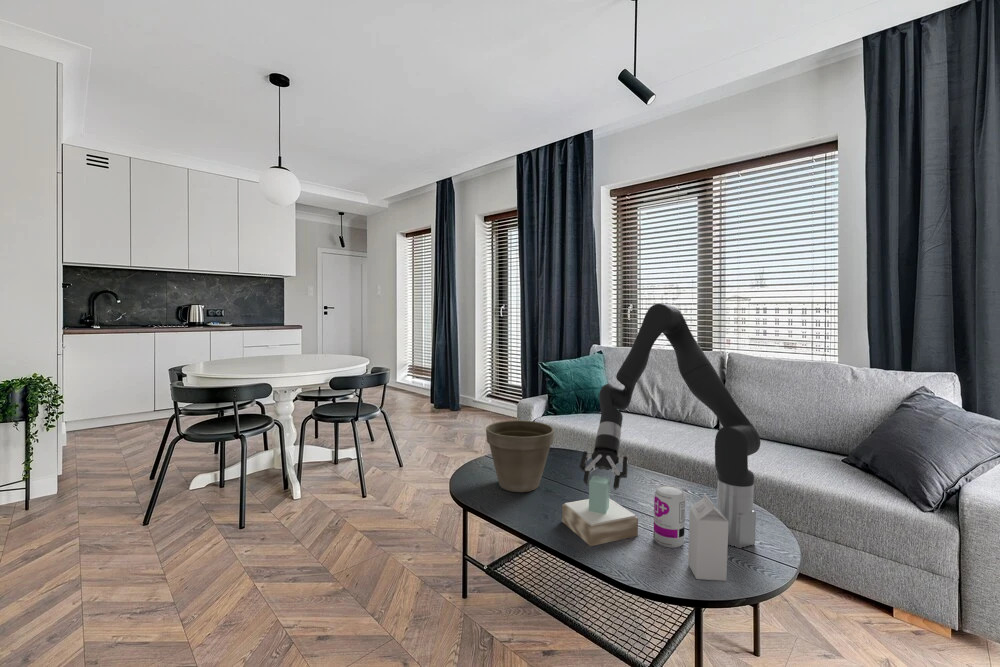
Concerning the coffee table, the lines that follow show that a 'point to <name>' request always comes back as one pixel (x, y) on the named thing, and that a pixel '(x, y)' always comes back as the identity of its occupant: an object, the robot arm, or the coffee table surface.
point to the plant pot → (519, 452)
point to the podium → (599, 522)
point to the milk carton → (707, 541)
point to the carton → (599, 494)
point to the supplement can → (669, 516)
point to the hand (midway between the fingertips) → (600, 486)
